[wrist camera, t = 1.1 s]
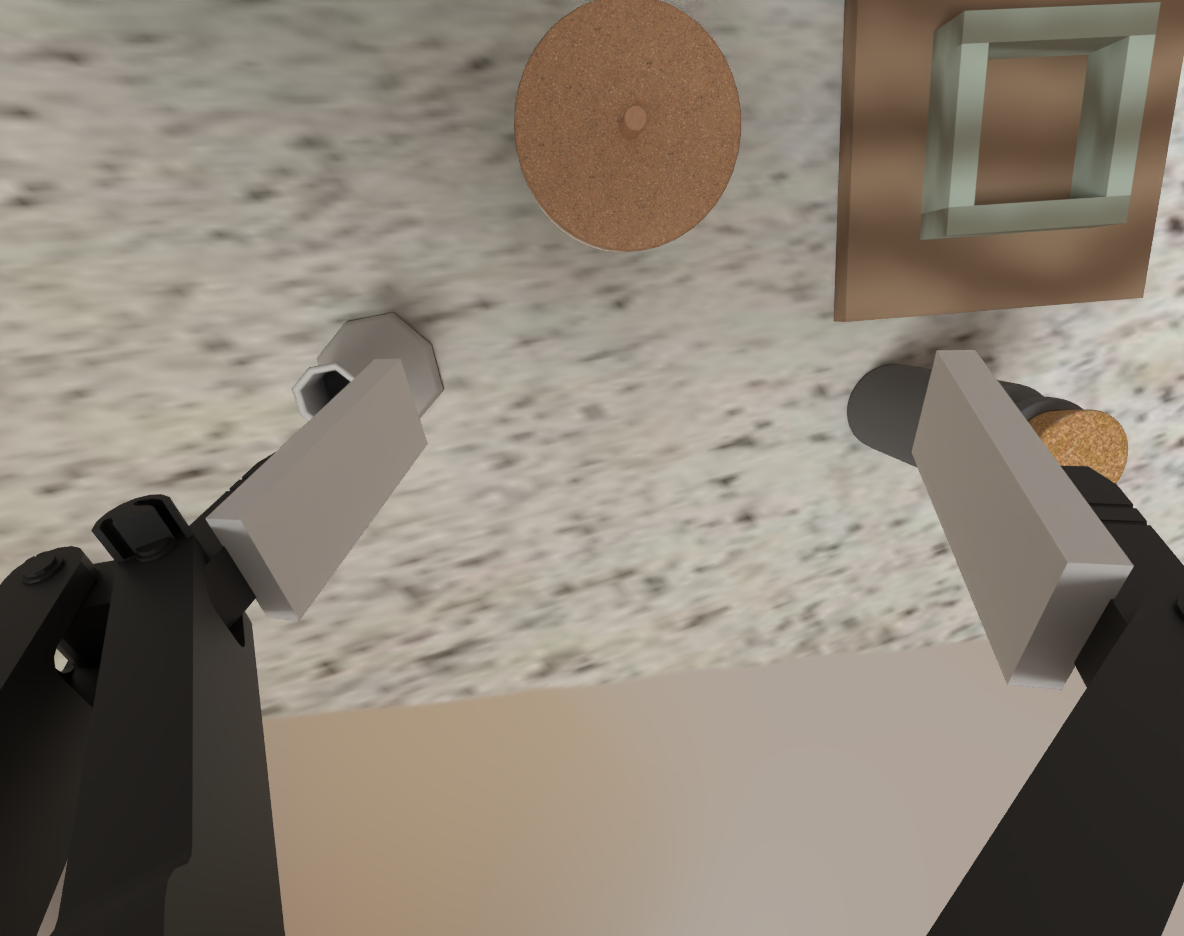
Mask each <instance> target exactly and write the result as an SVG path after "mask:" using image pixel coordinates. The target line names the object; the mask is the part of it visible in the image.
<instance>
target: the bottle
mask: <svg viewBox="0 0 1184 936" xmlns="http://www.w3.org/2000/svg"><path fill="white" fill-rule="evenodd" d="M931 371H932V369H926V368H920V367H913V366H906V365H887V366H882V367H879V368H877V369H875V370H873V371H871V372H870V373H868V374H867V375H865V376H864V377H863V378H862V379H861V380H860V381H859V382H858V384H857V385H856V387H855V388H854V390H853V392H852V394H851V396H850V399H849V403H848V409H847V415H848V422H849V426H850V428H851V430H852V432H853V434H854V435H855V436H856V437H857V438H858V439H859V440H860V441H861V442H862V443H864V444H865V445H867V446H869V447H871V448H873V449H875V450H878V451H880V452H882V453H885V454H887V455H889V456H892V457H894V458H896V459H899V460H901V461H903V462H906V463H908V464H910V465H913V466H915V467H917V465H916V462H915V460H914V457H913V455H912V448H913V444H914V440H915V436H916V432H917V428H918V424H919V420H920V416H921V412H922V408H923V404H924V400H925V396H926V392H927V388H928V383H929V379H930V375H931ZM998 382H999V383H1000V384H1001V386H1002V387H1003V389H1004V390H1005V391H1006V393H1007V394H1008V395H1009V397H1010V398H1011V399H1012V401H1013V402H1014V404H1015V405H1016V406H1017V408H1018V409H1019V410H1020V412H1021V413H1022V414H1023V416H1024V417H1025V418H1026V420H1027V421H1028V423H1029V424H1030V425H1031V427H1032V428H1033V429H1034V431H1035V432H1036V433H1037V435H1038V436H1039V438H1040V439H1041V440H1042V442H1043V443H1044V444H1045V446H1046V447H1047V448H1048V450H1049V451H1050V453H1051V454H1052V455H1053V457H1054V458H1055V459H1056V461H1057V462H1058V463H1059V465H1060V466H1089V467H1090V468H1092V469H1094V470H1095V471H1097V472H1098V473H1100V474H1101V475H1103V476H1104V477H1106V478H1108V479H1109V480H1111V481H1112V482H1114V483H1115V484H1116V483H1117V482H1118V480H1119V479H1120V477H1121V475H1122V473H1123V471H1124V468H1125V465H1126V462H1127V456H1128V442H1127V437H1126V434H1125V432H1124V429H1123V428H1122V426H1121V425H1120V423H1119V422H1118V421H1117V420H1116V419H1115V418H1113V417H1112V416H1110V415H1109V414H1107V413H1104V412H1101V411H1097V410H1083V409H1082V408H1081V407H1079V406H1078V405H1076V404H1074V403H1072V402H1070V401H1067V400H1063V399H1059V398H1053V397H1044V396H1043V395H1041V394H1040V393H1039V392H1038V391H1036V390H1034V389H1032V388H1030V387H1027V386H1024V385H1020V384H1015V383H1010V382H1005V381H999V380H998ZM917 468H918V467H917Z"/></svg>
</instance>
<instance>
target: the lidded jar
mask: <svg viewBox="0 0 1184 936" xmlns="http://www.w3.org/2000/svg"><path fill="white" fill-rule="evenodd" d="M514 130H515V141H516V149H517V153H518V157H519V162H520V166H521V169H522V172H523V174H524V177H525V179H526V182H527V184H528V186H529V188H530V190H531V193H532V195H533V196H534V198H535V200H536V201H537V203H538V205H539V207H540V208H541V209H542V211H543V212H544V213H545V214H546V216H547V217H548V218H549V219H550V220H551V221H552V222H553V223H554V224H555V225H556V226H557V227H558V228H559V229H560V230H561V231H563V232H564V233H566V234H567V235H568V236H570V237H571V238H573V239H574V240H576V241H578V242H581V243H583V244H585V245H587V246H589V247H593V248H597V249H600V250H604V251H613V252H629V251H642V250H646V249H650V248H655V247H658V246H661V245H663V244H666V243H668V242H670V241H673V240H675V239H677V238H678V237H680V236H681V235H683V234H685V233H686V232H688V231H689V230H691V229H692V228H693V227H694V226H696V225H697V224H698V223H699V222H700V221H701V220H702V219H704V218H705V216H706V215H707V214H708V213H709V212H710V210H711V209H712V208H713V207H714V206H715V205H716V203H717V201H718V200H719V198H720V197H721V195H722V193H723V192H724V190H725V189H726V186H727V184H728V182H729V179H730V177H731V175H732V172H733V170H734V166H735V163H736V159H737V155H738V151H739V144H740V136H741V111H740V104H739V97H738V92H737V88H736V85H735V82H734V78H733V75H732V72H731V70H730V68H729V66H728V64H727V61H726V59H725V57H724V55H723V54H722V52H721V51H720V49H719V48H718V46H717V45H716V43H715V41H714V40H713V39H712V38H711V37H710V35H709V34H708V33H707V32H706V31H705V30H704V29H703V28H702V27H701V25H699V24H698V23H697V22H696V21H694V20H693V19H692V18H691V17H689V16H688V15H687V14H686V13H684V12H682V11H680V10H679V9H677V8H675V7H673V6H671V5H670V4H667V3H664V2H661V1H659V0H594V1H592V2H590V3H587V4H585V5H583V6H580V7H578V8H576V9H575V10H573V11H572V12H570V13H569V14H567V15H566V16H564V17H563V18H561V19H560V20H559V21H558V22H557V23H556V24H555V25H554V26H553V27H552V28H551V29H550V30H549V31H548V32H547V33H546V34H545V36H544V37H543V38H542V39H541V41H540V42H539V43H538V45H537V46H536V47H535V49H534V51H533V53H532V55H531V57H530V59H529V60H528V62H527V64H526V66H525V69H524V72H523V75H522V78H521V81H520V83H519V87H518V93H517V98H516V103H515V118H514Z"/></svg>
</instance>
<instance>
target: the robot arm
mask: <svg viewBox="0 0 1184 936" xmlns="http://www.w3.org/2000/svg"><path fill="white" fill-rule="evenodd" d="M427 444H428V443H427V440H426V437H425V434H424V431H423V428H422V424H421V421H420V418H419V415H418V412H417V409H416V406H415V402H414V399H413V396H412V393H411V390H410V387H409V383H408V380H407V377H406V374H405V371H404V368H403V365H402V361H401V359H374V360H373V361H372V362H371V363H370V364H369V365H368V366H367V367H366V368H365V369H364V370H363V371H362V372H361V373H360V374H358V375H357V376H356V377H355V378H354V379H353V380H352V381H351V382H350V383H349V384H348V385H347V386H346V387H345V388H344V389H343V390H341V391H340V392H339V393H338V394H337V395H336V396H335V397H334V398H333V399H332V400H331V401H330V402H329V403H328V404H327V405H325V406H324V407H323V408H322V409H321V410H320V411H319V412H318V413H317V414H316V415H315V416H314V417H313V418H312V419H311V420H310V421H308V422H307V423H306V424H305V425H304V426H303V427H302V428H301V429H300V430H299V431H298V432H297V433H296V434H295V435H294V436H293V437H291V438H290V439H289V440H288V441H287V442H286V443H285V444H284V445H283V446H282V447H281V448H280V449H279V450H278V451H277V452H275V453H273V454H272V455H270V456H268V457H266V458H265V459H263V460H261V461H260V462H258V463H257V464H256V465H254V466H253V467H252V468H251V469H250V470H249V471H248V472H247V473H246V474H245V475H244V476H243V477H242V480H238V481H237V482H236V483H235V484H234V485H233V486H232V487H231V488H230V491H226V492H225V493H224V494H223V495H222V496H221V497H220V498H219V499H218V500H217V501H216V502H215V503H213V504H212V505H211V506H210V507H209V508H208V509H207V510H206V511H205V512H204V513H203V514H202V515H200V516H199V517H198V518H197V519H196V520H195V521H194V522H193V523H192V524H191V525H190V526H188V524H187V523H186V521H185V520H184V518H183V517H182V515H181V514H180V512H179V511H178V509H177V508H176V506H175V504H174V503H173V501H172V500H171V498H170V497H168V496H165V495H162V494H159V495H147V496H143V497H139V498H135V499H133V500H130V501H128V502H126V503H123V504H121V505H119V506H117V507H116V508H114V509H112V510H111V511H109V512H107V513H106V514H105V515H104V516H103V517H101V518H100V519H99V520H98V521H97V522H96V523H95V525H94V527H93V529H92V530H91V531H92V532H93V533H94V535H95V536H96V537H97V538H98V540H99V541H100V542H101V543H102V545H103V546H104V547H105V549H106V550H107V551H108V552H109V554H110V555H111V556H112V557H113V559H114V560H113V561H108V562H102V563H97V564H93V563H92V562H91V561H90V560H89V558H88V557H87V556H86V555H85V553H84V552H83V551H82V550H81V549H80V548H78V547H73V546H69V547H61V548H57V549H54V550H50V551H45V552H42V553H40V554H38V555H36V557H35V556H33V557H31V558H30V559H28V560H26V561H25V562H24V563H23V564H22V565H20V566H19V567H17V568H16V569H15V570H13V571H12V572H11V573H10V574H9V575H8V576H7V577H6V578H5V579H4V581H3V582H2V583H1V585H0V936H37V933H38V931H39V928H40V925H41V923H42V921H43V918H44V916H45V913H46V911H47V908H48V906H49V903H50V901H51V899H52V896H53V894H54V891H55V889H56V886H57V884H58V881H59V879H60V876H61V874H62V872H63V869H64V867H65V864H66V862H67V867H66V874H65V880H64V885H63V891H62V897H61V903H60V909H59V915H58V920H57V923H56V926H55V929H54V931H53V932H52V934H51V935H50V936H285V931H284V923H283V914H282V904H281V896H280V885H279V876H278V867H277V857H276V848H275V838H274V829H273V819H272V810H271V800H270V791H269V782H268V772H267V763H266V753H265V743H264V734H263V725H262V715H261V706H260V696H259V687H258V677H257V668H256V658H255V649H254V640H253V630H252V623H251V621H250V619H249V617H248V616H247V614H246V613H245V610H246V609H247V608H248V607H249V605H250V604H251V603H252V602H253V601H254V599H255V598H256V600H257V602H258V603H259V605H260V606H261V608H262V609H263V611H264V613H265V614H266V616H267V617H268V618H275V619H286V620H298V621H300V619H301V618H302V616H303V615H304V614H305V612H306V611H307V609H308V608H309V607H310V605H311V604H312V603H313V601H314V600H315V598H316V597H317V596H318V594H319V593H320V592H321V590H322V589H323V587H324V586H325V585H326V583H327V582H328V581H329V579H330V578H331V576H332V575H333V574H334V572H335V571H336V570H337V568H338V567H339V565H340V564H341V563H342V561H343V560H344V558H345V557H346V556H347V554H348V553H349V552H350V550H351V549H352V547H353V546H354V545H355V543H356V542H357V541H358V539H359V538H360V536H361V535H362V534H363V532H364V531H365V530H366V528H367V527H368V525H369V524H370V523H371V521H372V520H373V518H374V517H375V516H376V514H377V513H378V512H379V510H380V509H381V507H382V506H383V505H384V503H385V502H386V501H387V499H388V498H389V496H390V495H391V494H392V492H393V491H394V490H395V488H396V487H397V485H398V484H399V483H400V481H401V480H402V479H403V477H404V476H405V474H406V473H407V472H408V470H409V469H410V467H411V466H412V465H413V463H414V462H415V461H416V459H417V458H418V456H419V455H420V454H421V452H422V451H423V450H424V448H425V447H426V445H427ZM912 455H913V457H914V460H915V462H916V465H917V467H918V469H919V472H920V474H921V477H922V479H923V482H924V484H925V486H926V489H927V491H928V494H929V496H930V499H931V501H932V503H933V506H934V508H935V511H936V513H937V516H938V518H939V520H940V523H941V525H942V528H943V530H944V532H945V535H946V537H947V540H948V542H949V545H950V547H951V549H952V552H953V554H954V557H955V559H956V562H957V564H958V566H959V569H960V571H961V574H962V576H963V579H964V581H965V583H966V586H967V588H968V591H969V593H970V596H971V598H972V600H973V603H974V605H975V608H976V610H977V612H978V615H979V617H980V620H981V622H982V625H983V627H984V629H985V632H986V634H987V637H988V639H989V642H990V644H991V646H992V649H993V651H994V654H995V656H996V658H997V661H998V663H999V666H1000V668H1001V670H1002V673H1003V676H1004V678H1005V680H1006V683H1007V685H1014V686H1025V687H1037V688H1048V689H1058V690H1061V689H1062V688H1063V686H1064V684H1065V683H1066V681H1067V679H1068V678H1069V676H1070V674H1071V673H1072V671H1073V669H1074V668H1075V666H1076V668H1077V670H1078V672H1079V673H1080V675H1081V677H1082V679H1083V681H1084V683H1085V685H1086V687H1087V689H1086V690H1085V692H1084V693H1083V695H1082V696H1081V698H1080V700H1079V701H1078V703H1077V704H1076V706H1075V707H1074V709H1073V711H1072V712H1071V713H1070V715H1069V717H1068V718H1067V720H1066V721H1065V723H1064V724H1063V726H1062V727H1061V729H1060V730H1059V732H1058V734H1057V735H1056V737H1055V738H1054V740H1053V742H1052V743H1051V744H1050V746H1049V747H1048V749H1047V751H1046V752H1045V754H1044V755H1043V757H1042V758H1041V760H1040V761H1039V763H1038V764H1037V766H1036V767H1035V769H1034V771H1033V772H1032V774H1031V775H1030V777H1029V778H1028V780H1027V781H1026V783H1025V784H1024V786H1023V788H1022V789H1021V791H1020V792H1019V794H1018V796H1017V797H1016V798H1015V800H1014V801H1013V803H1012V804H1011V806H1010V808H1009V809H1008V811H1007V812H1006V814H1005V815H1004V817H1003V818H1002V820H1001V821H1000V823H999V824H998V826H997V828H996V829H995V831H994V832H993V834H992V835H991V837H990V838H989V840H988V841H987V843H986V845H985V846H984V848H983V849H982V851H981V852H980V854H979V855H978V857H977V859H976V860H975V861H974V863H973V865H972V866H971V868H970V869H969V871H968V873H967V874H966V875H965V877H964V879H963V880H962V882H961V883H960V885H959V886H958V888H957V889H956V891H955V892H954V894H953V896H952V897H951V899H950V900H949V902H948V903H947V905H946V906H945V908H944V909H943V911H942V912H941V914H940V916H939V917H938V919H937V920H936V922H935V923H934V925H933V926H932V928H931V929H930V931H929V932H928V934H927V935H926V936H1161V935H1162V932H1163V930H1164V928H1165V925H1166V923H1167V921H1168V918H1169V916H1170V914H1171V911H1172V909H1173V906H1174V904H1175V902H1176V899H1177V897H1178V895H1179V892H1180V890H1181V888H1182V885H1183V883H1184V565H1183V564H1182V563H1181V562H1180V561H1179V559H1178V558H1177V557H1176V556H1175V554H1174V553H1173V552H1172V551H1171V550H1170V548H1169V547H1168V546H1167V545H1166V544H1165V542H1164V541H1163V540H1162V539H1161V538H1160V536H1159V535H1158V534H1157V533H1156V531H1155V530H1154V529H1153V528H1152V527H1151V526H1150V525H1147V521H1146V519H1145V518H1144V517H1143V516H1142V515H1141V513H1140V512H1139V511H1138V510H1137V509H1136V508H1133V504H1132V502H1131V501H1130V500H1129V499H1128V498H1127V496H1126V495H1125V494H1124V493H1123V492H1122V490H1121V489H1120V488H1119V487H1118V486H1117V484H1115V483H1114V482H1112V481H1111V480H1109V479H1108V478H1106V477H1104V476H1103V475H1101V474H1100V473H1098V472H1097V471H1095V470H1094V469H1092V468H1090V467H1089V466H1060V465H1059V463H1058V462H1057V461H1056V459H1055V458H1054V457H1053V455H1052V454H1051V453H1050V451H1049V450H1048V448H1047V447H1046V446H1045V444H1044V443H1043V442H1042V440H1041V439H1040V438H1039V436H1038V435H1037V433H1036V432H1035V431H1034V429H1033V428H1032V427H1031V425H1030V424H1029V423H1028V421H1027V420H1026V418H1025V417H1024V416H1023V414H1022V413H1021V412H1020V410H1019V409H1018V408H1017V406H1016V405H1015V404H1014V402H1013V401H1012V399H1011V398H1010V397H1009V395H1008V394H1007V393H1006V391H1005V390H1004V389H1003V387H1002V386H1001V384H1000V383H999V382H998V380H997V379H996V378H995V376H994V375H993V374H992V372H991V371H990V370H989V368H988V367H987V365H986V364H985V363H984V361H983V360H982V359H981V357H980V356H979V355H978V353H977V352H976V350H937V351H936V355H935V359H934V363H933V367H932V371H931V375H930V379H929V383H928V388H927V392H926V396H925V400H924V404H923V408H922V412H921V416H920V420H919V424H918V428H917V432H916V436H915V440H914V444H913V448H912ZM56 648H57V649H58V650H59V651H60V652H61V653H62V654H63V656H64V657H65V658H66V659H67V660H68V662H67V664H66V666H65V667H64V669H63V670H62V672H60V671H58V670H57V669H56V668H55V662H54V655H55V652H56ZM67 859H68V861H67Z"/></svg>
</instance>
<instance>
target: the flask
mask: <svg viewBox="0 0 1184 936" xmlns="http://www.w3.org/2000/svg"><path fill="white" fill-rule="evenodd" d="M374 359H401V361H402V365H403V368H404V371H405V374H406V377H407V380H408V383H409V387H410V390H411V393H412V396H413V399H414V402H415V406H416V409H417V412H418V415H419V418H420V417H421V416H422V415H423V414H424V413H425V411H426V410H427V409H428V408H429V407H430V406H431V404H432V403H433V402H434V401H435V400H436V398H437V397H438V396H439V395H440V394H441V392H442V391H443V388H442V384H441V380H440V376H439V372H438V369H437V365H436V361H435V357H434V354H433V350H432V346H431V344H430V343H428V342H427V341H426V340H425V339H424V338H423V337H421V336H420V335H419V334H418V333H417V332H415V331H414V330H413V329H412V328H411V327H409V326H408V325H407V324H406V323H405V322H404V321H402V320H401V319H400V318H399V317H398V316H396V315H395V314H394V313H388V314H383V315H378V316H374V317H369V318H364V319H359V320H354V321H349V322H345V324H344V325H343V326H342V327H341V329H340V330H339V331H338V332H337V334H336V335H335V336H334V337H333V339H332V340H331V341H330V342H329V344H328V345H327V346H326V347H325V349H324V350H323V351H322V352H321V354H320V355H319V356H318V357H317V362H318V366H314V367H309V368H308V369H307V370H306V372H305V373H304V374H303V375H302V377H301V378H300V379H299V380H298V382H297V383H296V384H295V385H294V387H293V388H292V391H293V394H294V397H295V400H296V403H297V406H298V409H299V412H300V415H301V416H302V417H303V418H305V419H306V420H307V421H310V420H311V419H312V418H313V417H314V416H315V415H316V414H317V413H318V412H319V411H320V410H321V409H322V408H323V407H324V406H325V405H327V404H328V403H329V402H330V401H331V400H332V399H333V398H334V397H335V396H336V395H337V394H338V393H339V392H340V391H341V390H343V389H344V388H345V387H346V386H347V385H348V384H349V383H350V382H351V381H352V380H353V379H354V378H355V377H356V376H357V375H358V374H360V373H361V372H362V371H363V370H364V369H365V368H366V367H367V366H368V365H369V364H370V363H371V362H372V361H373V360H374Z"/></svg>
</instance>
